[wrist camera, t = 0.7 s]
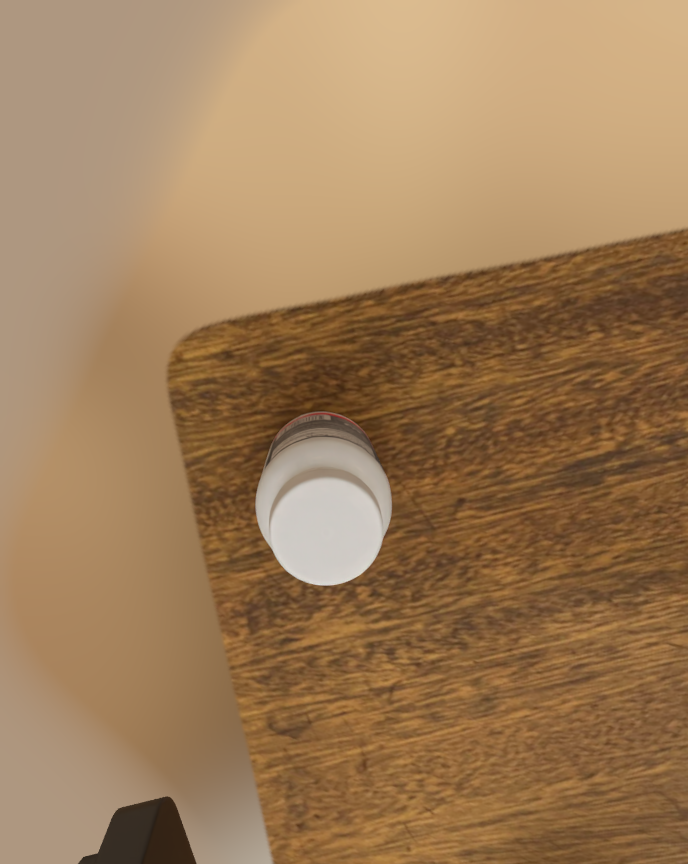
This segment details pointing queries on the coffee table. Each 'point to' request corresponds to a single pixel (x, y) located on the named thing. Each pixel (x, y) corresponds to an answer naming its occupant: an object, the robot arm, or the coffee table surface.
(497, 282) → the coffee table surface
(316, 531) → the pill bottle
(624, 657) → the coffee table surface
